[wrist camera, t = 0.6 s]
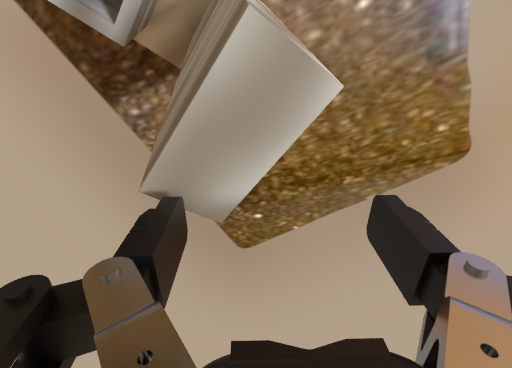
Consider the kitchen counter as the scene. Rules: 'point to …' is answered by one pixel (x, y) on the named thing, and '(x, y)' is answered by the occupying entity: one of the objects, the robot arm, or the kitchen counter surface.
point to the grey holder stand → (218, 92)
